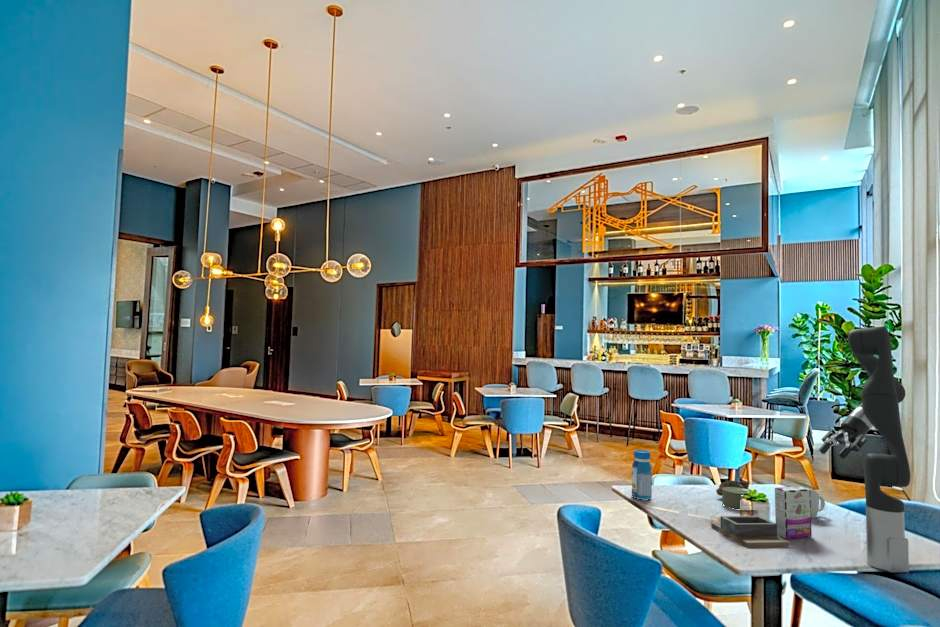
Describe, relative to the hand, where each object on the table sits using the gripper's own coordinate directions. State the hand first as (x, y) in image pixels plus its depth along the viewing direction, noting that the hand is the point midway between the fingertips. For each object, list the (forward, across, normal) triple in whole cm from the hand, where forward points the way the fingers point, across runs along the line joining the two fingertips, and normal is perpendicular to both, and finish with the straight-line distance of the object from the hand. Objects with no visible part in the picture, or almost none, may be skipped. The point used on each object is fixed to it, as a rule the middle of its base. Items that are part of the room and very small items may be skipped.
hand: (830, 454), depth 190 cm
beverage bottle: (+54, -48, -14) cm, 74 cm away
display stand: (+42, 0, -3) cm, 43 cm away
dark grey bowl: (+29, -35, +12) cm, 47 cm away
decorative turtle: (+24, -47, +16) cm, 55 cm away
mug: (+13, -22, +27) cm, 37 cm away
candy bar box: (+31, 0, +9) cm, 32 cm away
